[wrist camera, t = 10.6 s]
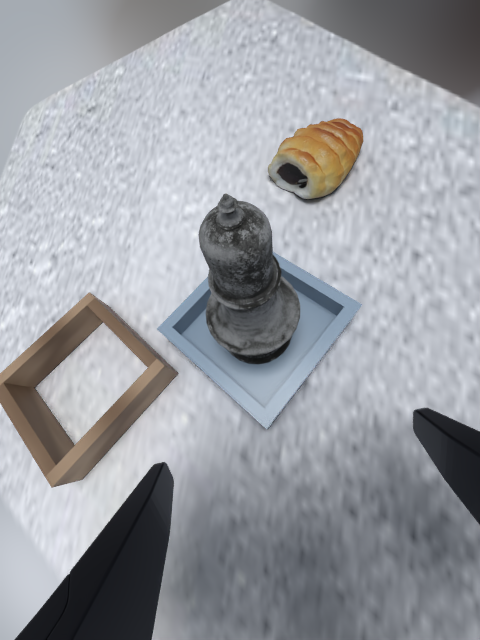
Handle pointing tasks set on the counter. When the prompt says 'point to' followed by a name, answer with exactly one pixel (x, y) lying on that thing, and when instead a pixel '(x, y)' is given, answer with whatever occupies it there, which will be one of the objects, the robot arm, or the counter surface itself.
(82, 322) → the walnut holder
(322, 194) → the pastry
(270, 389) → the slate tray
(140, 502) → the robot arm
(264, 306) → the grey stone chess piece
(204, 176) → the counter surface
